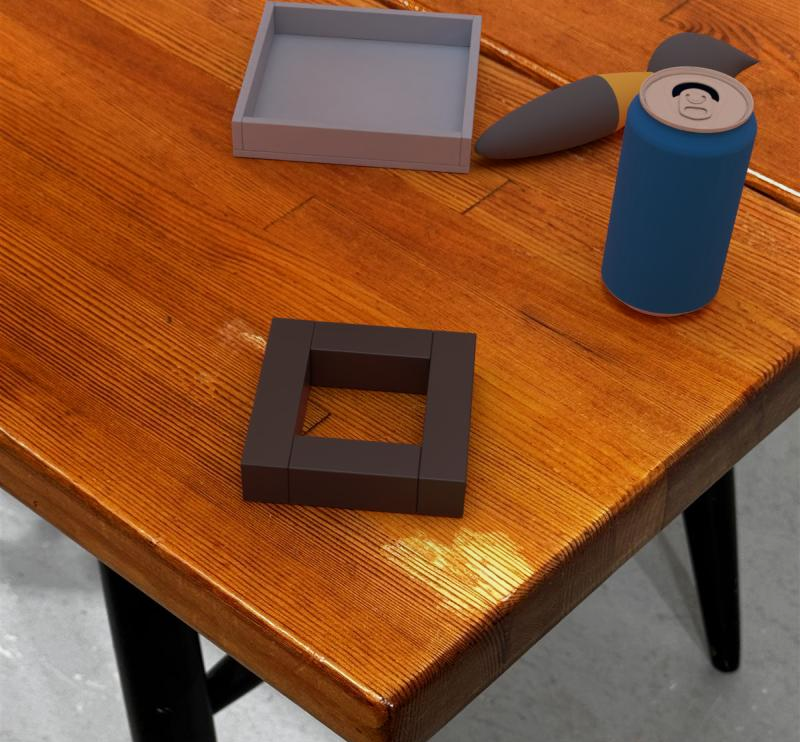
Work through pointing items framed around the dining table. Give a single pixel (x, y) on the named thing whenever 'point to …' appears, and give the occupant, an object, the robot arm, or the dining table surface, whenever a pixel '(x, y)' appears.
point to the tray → (360, 87)
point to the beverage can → (678, 190)
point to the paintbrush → (599, 101)
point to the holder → (358, 459)
